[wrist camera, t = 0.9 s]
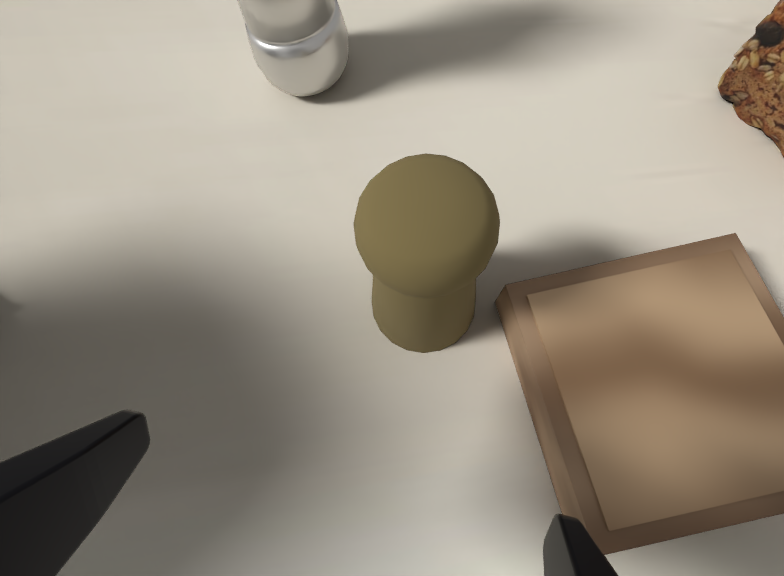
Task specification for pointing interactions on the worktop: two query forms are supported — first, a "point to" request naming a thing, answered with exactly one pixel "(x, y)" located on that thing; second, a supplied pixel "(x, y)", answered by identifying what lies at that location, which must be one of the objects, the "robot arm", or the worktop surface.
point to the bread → (760, 78)
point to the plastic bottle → (297, 42)
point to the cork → (425, 247)
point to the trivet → (655, 390)
